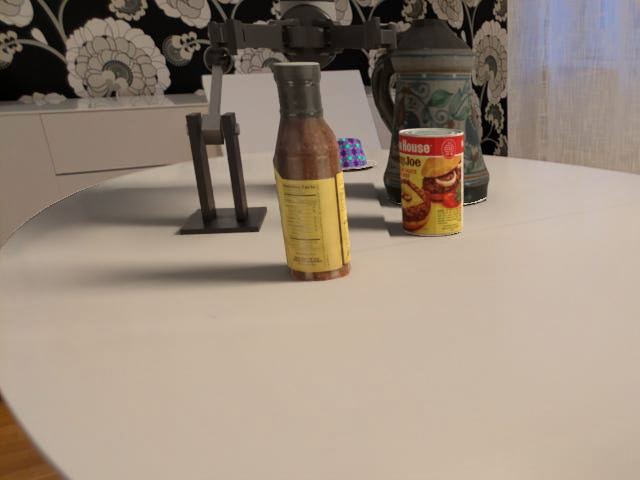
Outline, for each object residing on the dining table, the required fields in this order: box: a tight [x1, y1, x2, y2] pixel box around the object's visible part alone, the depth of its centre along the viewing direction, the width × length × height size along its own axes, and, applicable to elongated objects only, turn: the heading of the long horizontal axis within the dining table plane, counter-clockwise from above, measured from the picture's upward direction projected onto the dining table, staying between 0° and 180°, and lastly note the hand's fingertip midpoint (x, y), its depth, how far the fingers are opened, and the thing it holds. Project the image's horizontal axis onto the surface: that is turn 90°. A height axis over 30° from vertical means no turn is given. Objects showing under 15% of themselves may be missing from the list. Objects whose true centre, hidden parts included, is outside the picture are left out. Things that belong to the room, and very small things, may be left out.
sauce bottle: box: [272, 61, 352, 282], centre depth 63 cm, size 6×6×20 cm
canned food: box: [399, 128, 464, 237], centre depth 84 cm, size 8×8×12 cm
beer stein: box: [370, 18, 491, 204], centre depth 101 cm, size 16×19×25 cm
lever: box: [201, 45, 234, 146], centre depth 85 cm, size 17×4×4 cm
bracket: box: [179, 111, 268, 236], centre depth 84 cm, size 12×9×14 cm
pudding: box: [336, 137, 378, 169], centre depth 131 cm, size 12×12×5 cm
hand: (302, 34), depth 68 cm, fingers open, 13 cm apart
